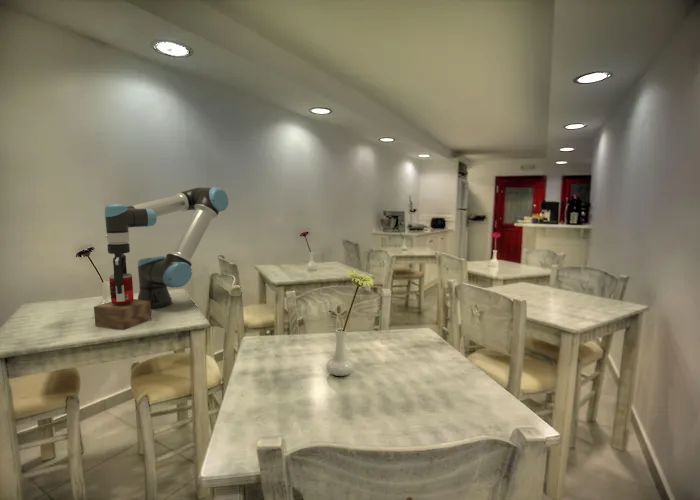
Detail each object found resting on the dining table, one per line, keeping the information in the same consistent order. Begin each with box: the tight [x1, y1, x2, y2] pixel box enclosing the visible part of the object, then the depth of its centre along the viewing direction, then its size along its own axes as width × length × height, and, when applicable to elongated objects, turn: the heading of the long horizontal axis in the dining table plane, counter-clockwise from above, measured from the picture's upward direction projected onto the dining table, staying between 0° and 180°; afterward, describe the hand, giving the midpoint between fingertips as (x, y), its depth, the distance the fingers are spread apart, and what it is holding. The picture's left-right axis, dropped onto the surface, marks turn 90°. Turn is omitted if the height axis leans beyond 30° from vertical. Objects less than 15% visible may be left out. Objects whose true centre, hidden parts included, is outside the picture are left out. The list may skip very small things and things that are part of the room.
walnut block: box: [93, 298, 152, 331], centre depth 155 cm, size 14×14×8 cm
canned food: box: [108, 272, 134, 304], centre depth 154 cm, size 8×8×11 cm
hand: (122, 298), depth 154 cm, fingers closed on canned food, 8 cm apart
